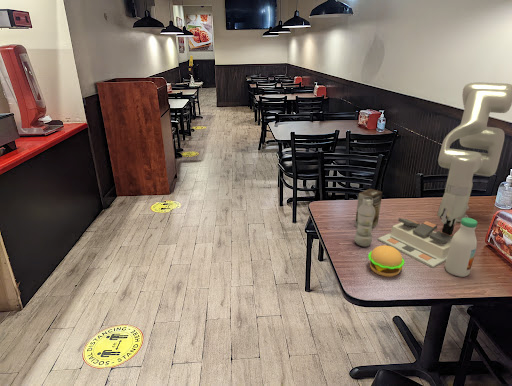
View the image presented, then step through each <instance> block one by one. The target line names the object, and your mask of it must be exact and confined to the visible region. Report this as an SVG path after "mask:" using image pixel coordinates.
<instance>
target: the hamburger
mask: <svg viewBox="0 0 512 386" xmlns="http://www.w3.org/2000/svg"><path fill="white" fill-rule="evenodd" d="M367 258H368V260H369V261H370V263H369V267H370V269H371V270H372V272H374V273H375V274H377V275H379V276H382V277H387V278H389V277H390V278H391V277H395V276H397V275H398V274H399V273H400V272H401V271H402V270H403V268H404V265H405V259H404V258H403V255H402V252H400V251H398V250H397V249H395V248H394V247H391V246H389V245H387V244H384V245H379V246H375V247H374V248H373V249H372V250H371V251H370V252H369V253H368V256H367Z"/></svg>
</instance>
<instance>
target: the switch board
mask: <svg viewBox="0 0 512 386" xmlns="http://www.w3.org/2000/svg"><path fill="white" fill-rule="evenodd" d="M415 228H417V226H409V225H406V224H404V223H402V222H398V223H396V224H394V225H392V227H391V230H390V231H391V232H389V233H387V234H385V235H382V236H380V237H378V238H377V241H379V242H381V243H383V244H384V245H387V246H391V247H394V248H395V249H397V250H398V251H399V252H400V253H401V254H404V255H407V256H408V257H410V258H412V259H414V260H415V261H418V262H420V263H422V264H424V265H426V266H428V267H430V268H432V269H433V268H436V267H438V266H439V265H441V264H443V263H446V259H447V255H448V251H449V247H450V243H451V240H452V239H451V240H448V241H446V242H444V243H440V242H437V241H435V240H433V239H431V238H429V237H430V235H431V234H434V233H436V232H437V231H435V230H434V231H433V232H431V233H430V234H429V235H428V236H426V237H425V238H423V237H421V236H419V235H417V234H414V233H413V230H414V229H415Z"/></svg>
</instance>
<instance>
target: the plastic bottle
mask: <svg viewBox="0 0 512 386" xmlns="http://www.w3.org/2000/svg"><path fill="white" fill-rule="evenodd" d="M362 203H363V204H362V205H361V206H360V207H359V208H358V227H356V232H355V235H354V242H355V243H356V245H358V246H361V247H369V246H370V245H371V244H372V241H373V235H372V232H373V228H372V224H373V220H374V216H375V209H374V207H373V205H372V204H373V198H371V197H364V198H363V202H362Z"/></svg>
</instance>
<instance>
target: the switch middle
mask: <svg viewBox="0 0 512 386" xmlns="http://www.w3.org/2000/svg"><path fill="white" fill-rule="evenodd" d="M436 229H438V225H437V224H436V223H432V222H430V221H427V220H424V221H423V222H422V223H420V225H419V226H418V227H417V228H415V229H414V230H413V233H414V234H417V235H419V236H421V237H423V238H425V237H426V236H428V235H429V234H430V233H431V232H433V231H434V232H435V230H436Z"/></svg>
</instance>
